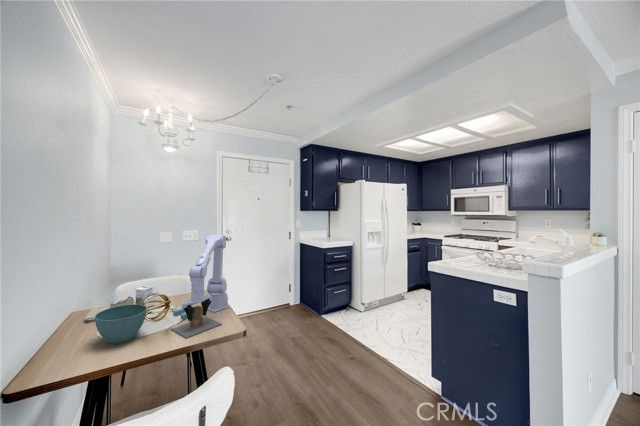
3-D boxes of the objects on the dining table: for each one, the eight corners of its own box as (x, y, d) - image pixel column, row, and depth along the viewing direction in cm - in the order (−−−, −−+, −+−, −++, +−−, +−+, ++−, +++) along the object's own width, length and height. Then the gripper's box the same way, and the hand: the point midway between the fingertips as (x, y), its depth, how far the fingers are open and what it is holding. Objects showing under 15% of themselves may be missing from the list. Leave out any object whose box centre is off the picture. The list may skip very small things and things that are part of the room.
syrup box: (152, 311, 144) (153, 286, 144) (144, 315, 138) (145, 289, 138) (143, 311, 145) (143, 285, 145) (134, 315, 139) (135, 288, 139)
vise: (176, 309, 148) (176, 305, 148) (192, 317, 138) (193, 312, 138) (166, 312, 144) (166, 308, 144) (182, 320, 134) (182, 315, 134)
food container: (121, 324, 127) (122, 304, 127) (109, 324, 127) (109, 304, 127) (139, 314, 140) (140, 296, 140) (128, 314, 140) (128, 296, 140)
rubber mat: (205, 317, 138) (205, 316, 138) (221, 324, 130) (221, 323, 130) (170, 330, 123) (170, 328, 123) (186, 338, 115) (186, 337, 115)
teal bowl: (150, 327, 125) (151, 302, 125) (139, 345, 108) (140, 316, 108) (104, 333, 118) (105, 306, 118) (85, 353, 101) (86, 322, 101)
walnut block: (197, 323, 129) (197, 305, 129) (202, 325, 127) (202, 307, 127) (190, 326, 126) (190, 308, 126) (195, 328, 124) (195, 309, 124)
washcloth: (82, 324, 127) (82, 318, 127) (89, 312, 142) (89, 307, 142) (113, 319, 134) (113, 313, 134) (117, 308, 149) (117, 303, 149)
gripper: (205, 285, 134) (204, 311, 134) (178, 292, 122) (177, 321, 122) (214, 287, 131) (213, 314, 131) (187, 295, 118) (187, 324, 118)
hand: (197, 317), depth 126 cm, fingers open, 7 cm apart
